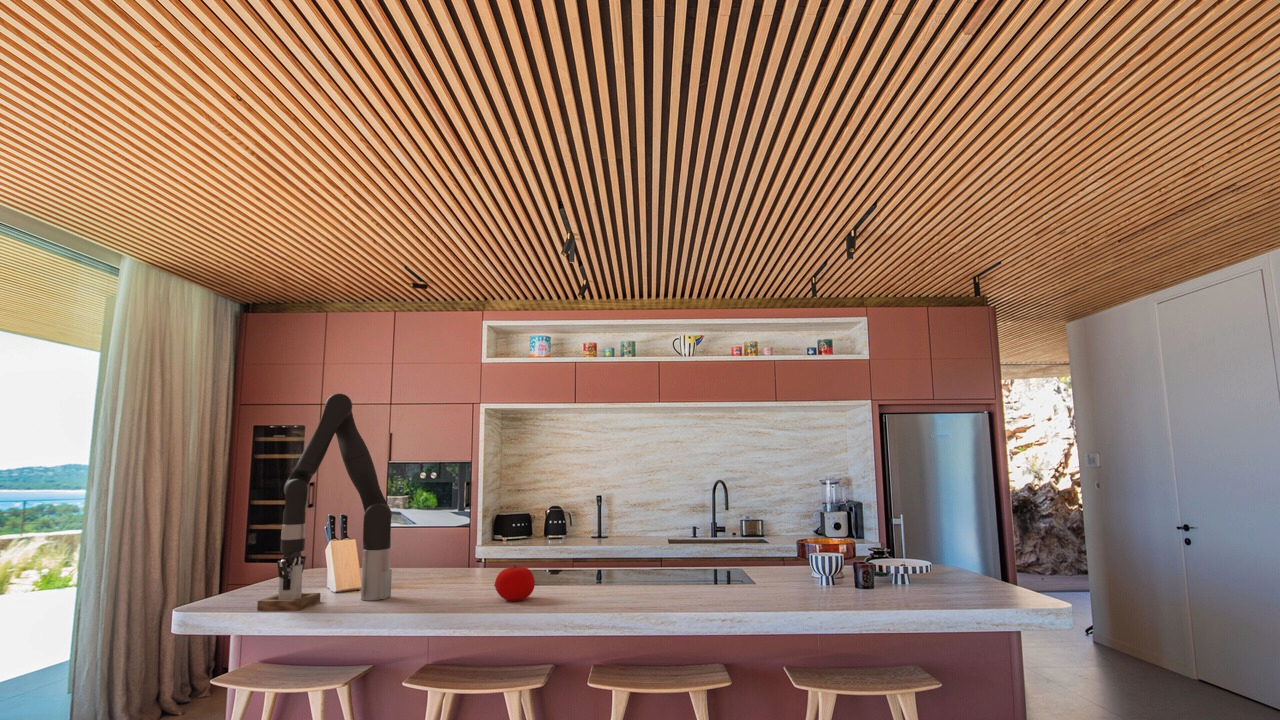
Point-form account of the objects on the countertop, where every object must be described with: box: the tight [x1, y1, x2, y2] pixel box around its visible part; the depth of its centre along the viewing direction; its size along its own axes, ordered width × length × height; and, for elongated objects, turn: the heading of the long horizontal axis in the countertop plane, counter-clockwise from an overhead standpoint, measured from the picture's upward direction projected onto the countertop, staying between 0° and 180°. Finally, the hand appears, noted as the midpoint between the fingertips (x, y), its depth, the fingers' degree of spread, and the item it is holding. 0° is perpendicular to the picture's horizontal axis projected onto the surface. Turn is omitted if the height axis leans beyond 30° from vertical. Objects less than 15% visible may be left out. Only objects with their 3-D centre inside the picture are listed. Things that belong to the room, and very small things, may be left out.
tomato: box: [494, 564, 536, 602], centre depth 246 cm, size 13×14×12 cm
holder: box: [256, 592, 321, 612], centre depth 239 cm, size 14×14×3 cm
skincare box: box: [278, 565, 303, 600], centre depth 240 cm, size 6×4×12 cm
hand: (290, 588), depth 240 cm, fingers closed on skincare box, 4 cm apart
